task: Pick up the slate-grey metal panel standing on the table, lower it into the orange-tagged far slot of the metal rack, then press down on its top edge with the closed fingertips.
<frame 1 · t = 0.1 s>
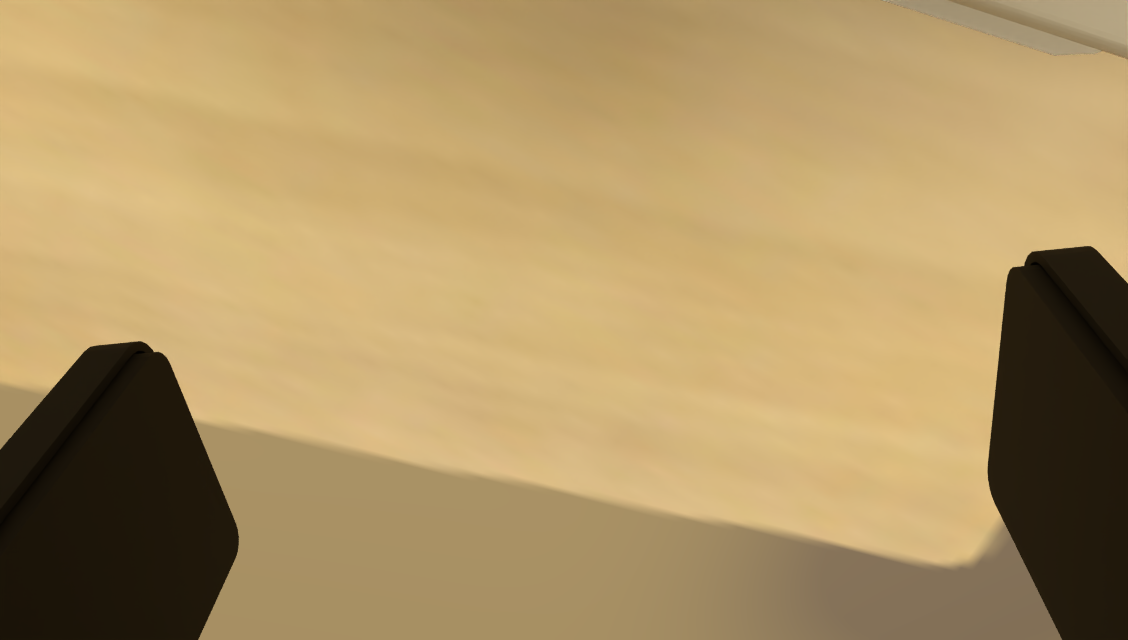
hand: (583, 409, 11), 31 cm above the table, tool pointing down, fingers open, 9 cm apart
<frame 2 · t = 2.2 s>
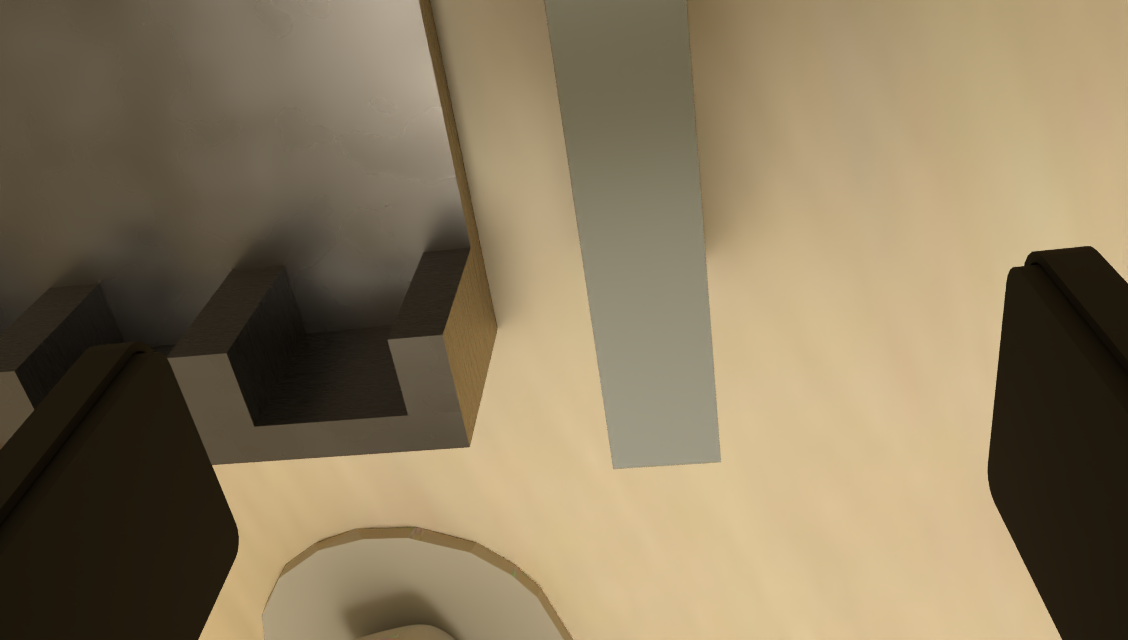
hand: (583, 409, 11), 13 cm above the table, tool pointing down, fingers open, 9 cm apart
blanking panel: (638, 50, 22), on the table
rack: (124, 113, 24), on the table
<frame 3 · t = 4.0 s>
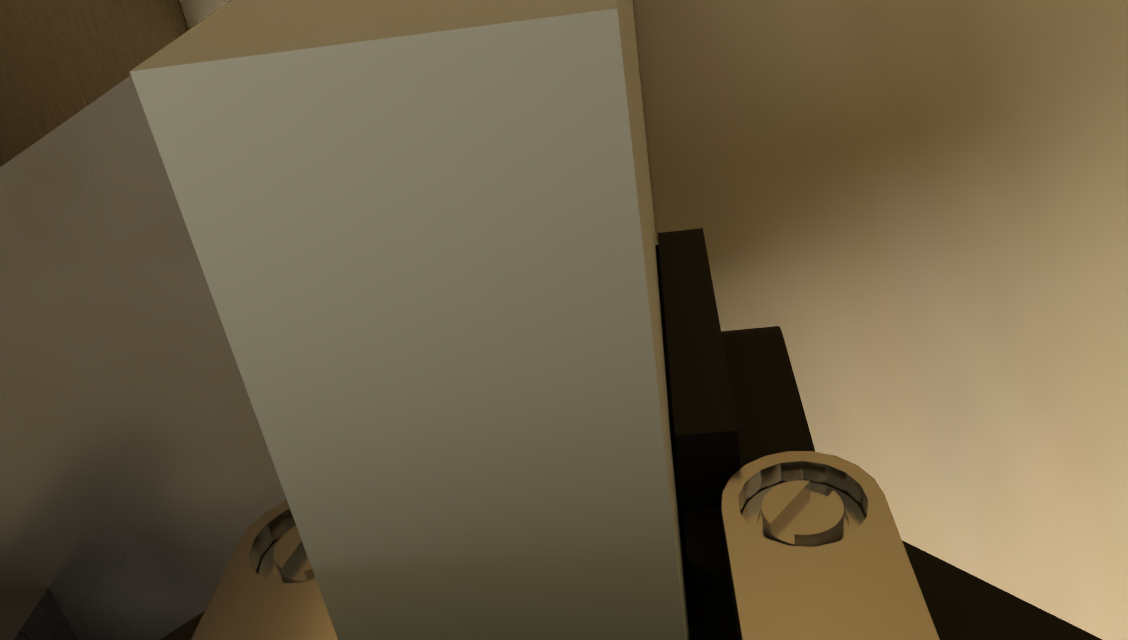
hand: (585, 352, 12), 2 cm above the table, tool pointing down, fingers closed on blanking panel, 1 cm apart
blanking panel: (587, 281, 14), on the table, touching gripper
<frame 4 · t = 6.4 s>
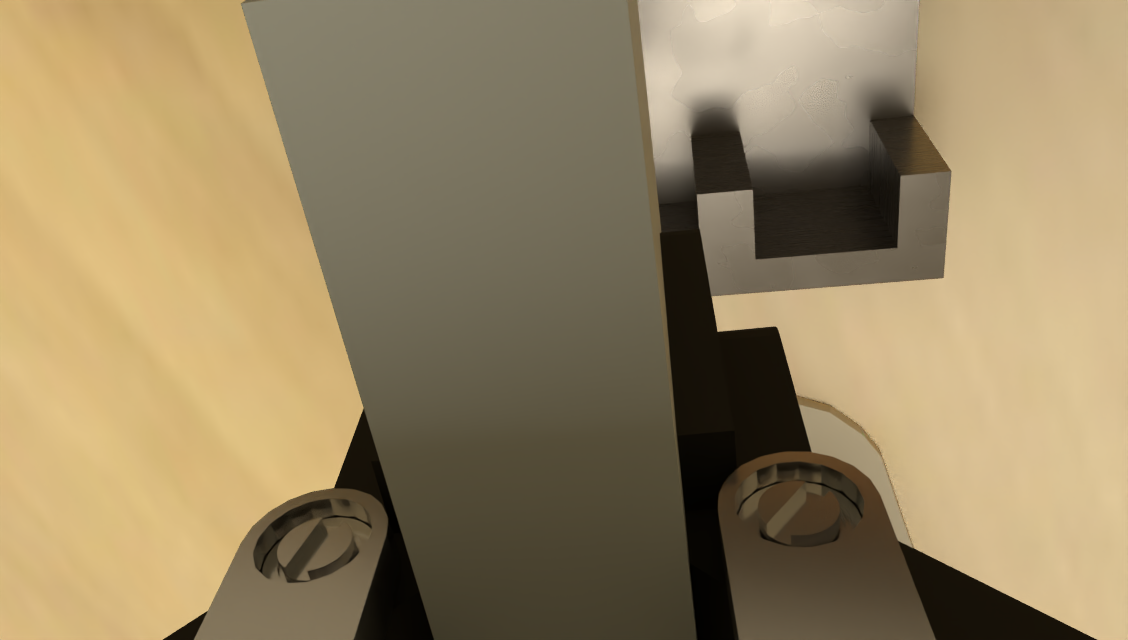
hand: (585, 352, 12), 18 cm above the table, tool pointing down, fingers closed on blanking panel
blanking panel: (594, 242, 15), point 15 cm above the table, touching gripper
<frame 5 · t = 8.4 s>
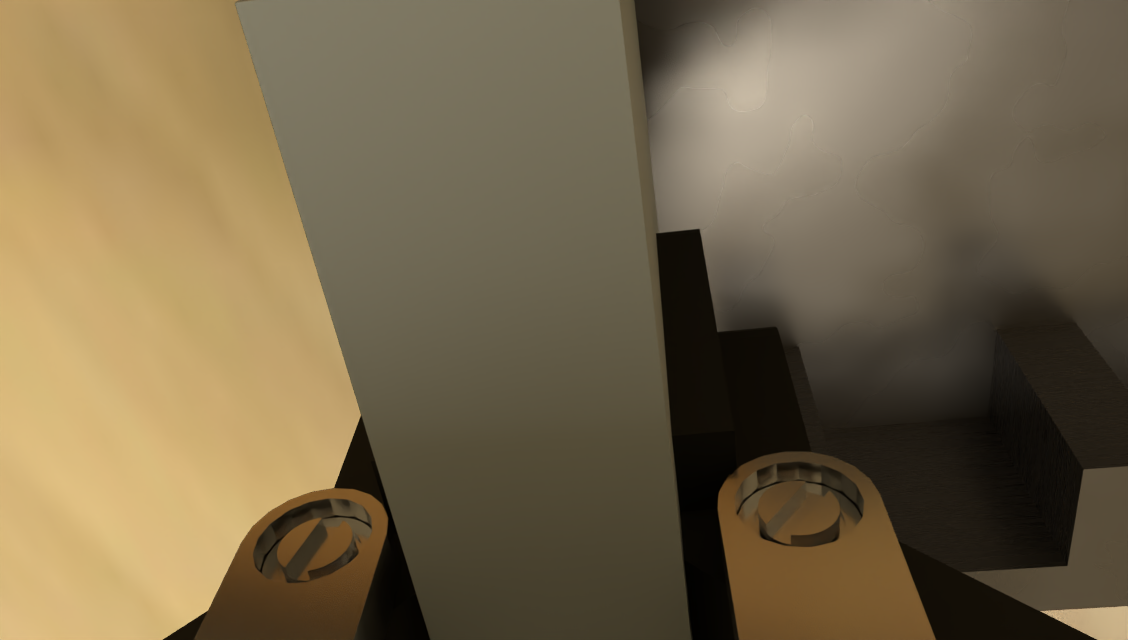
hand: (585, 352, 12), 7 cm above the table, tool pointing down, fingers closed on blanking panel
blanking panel: (592, 241, 15), point 4 cm above the table, touching gripper
rack: (890, 116, 17), on the table
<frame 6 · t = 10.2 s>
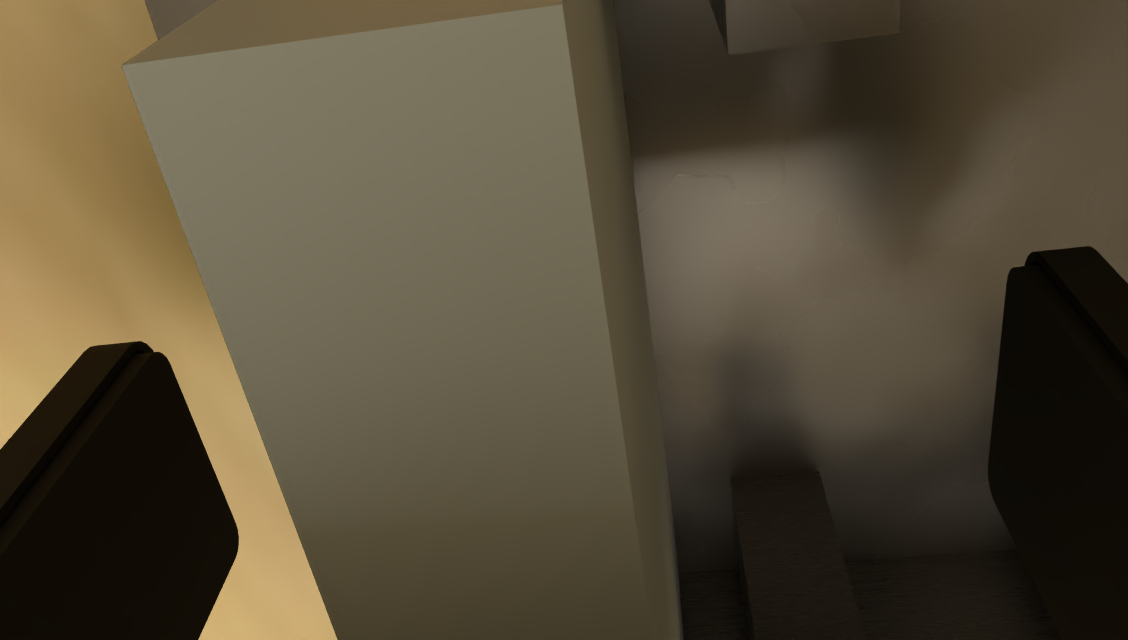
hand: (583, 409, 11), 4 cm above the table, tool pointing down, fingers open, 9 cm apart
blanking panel: (573, 273, 14), point 1 cm above the table, touching rack
rack: (930, 202, 14), on the table
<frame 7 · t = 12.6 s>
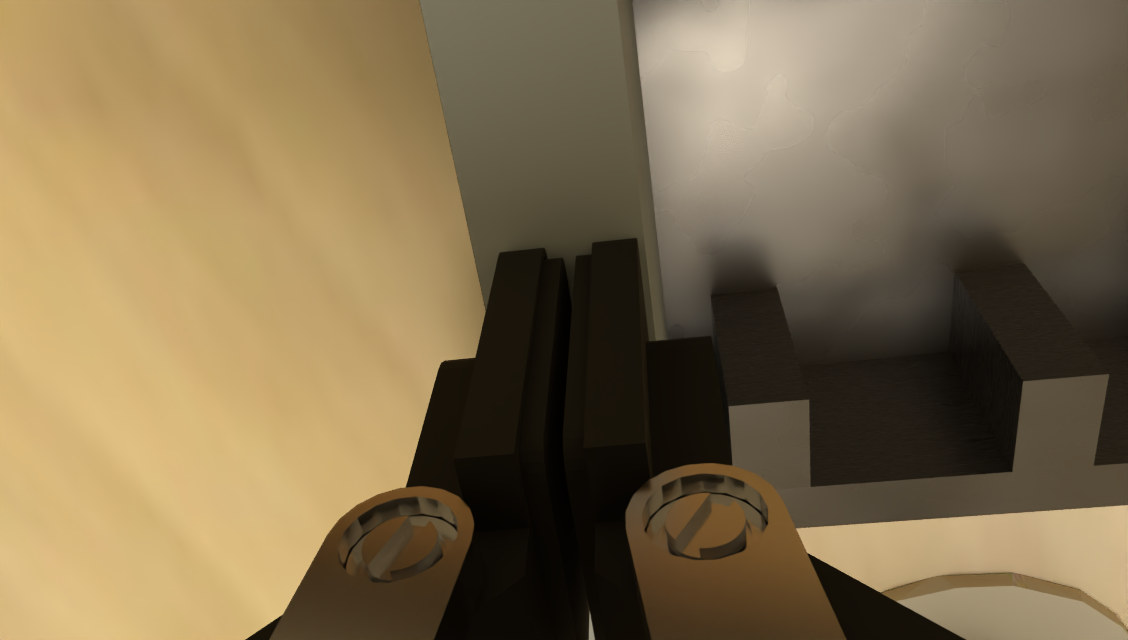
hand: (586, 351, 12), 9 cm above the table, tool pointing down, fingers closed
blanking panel: (593, 127, 19), point 1 cm above the table, touching gripper, rack
rack: (857, 77, 19), on the table
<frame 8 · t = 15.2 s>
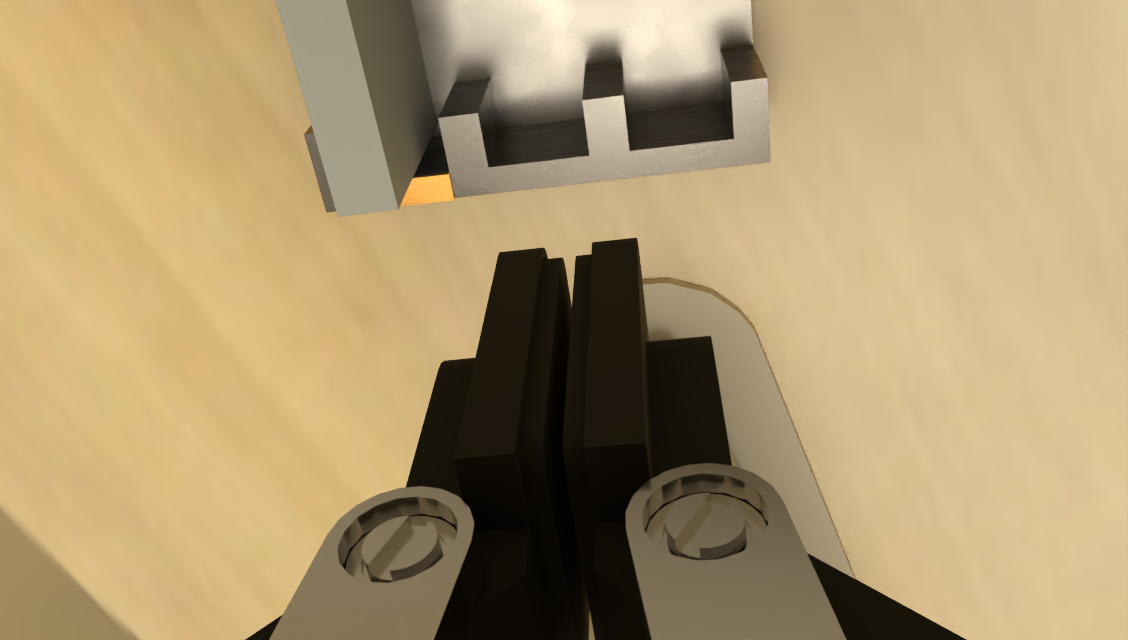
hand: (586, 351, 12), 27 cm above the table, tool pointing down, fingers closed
wireless router: (730, 530, 50), on the table
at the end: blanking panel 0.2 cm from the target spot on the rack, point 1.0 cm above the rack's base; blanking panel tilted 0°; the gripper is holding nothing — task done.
